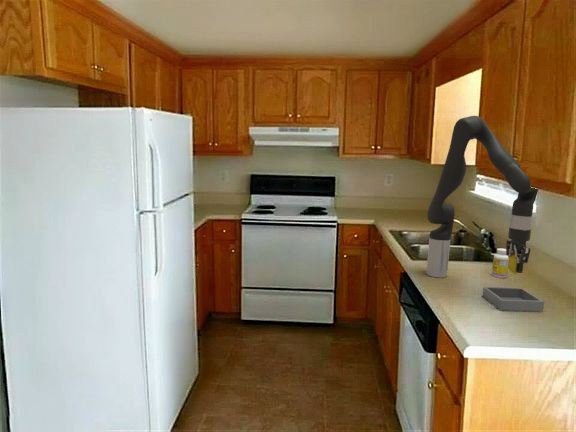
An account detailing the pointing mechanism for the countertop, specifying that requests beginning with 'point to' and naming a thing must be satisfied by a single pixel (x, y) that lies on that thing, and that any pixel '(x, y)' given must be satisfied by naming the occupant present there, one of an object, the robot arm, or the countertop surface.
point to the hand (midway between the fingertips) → (515, 270)
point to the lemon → (513, 264)
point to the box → (513, 299)
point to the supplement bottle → (500, 264)
